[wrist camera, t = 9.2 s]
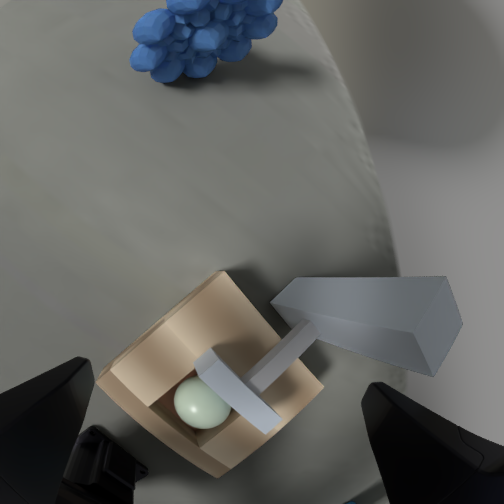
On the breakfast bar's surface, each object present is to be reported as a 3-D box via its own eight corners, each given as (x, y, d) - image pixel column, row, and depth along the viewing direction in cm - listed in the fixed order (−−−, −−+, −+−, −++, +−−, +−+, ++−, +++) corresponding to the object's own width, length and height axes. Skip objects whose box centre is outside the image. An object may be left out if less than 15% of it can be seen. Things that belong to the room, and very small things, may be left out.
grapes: (235, 40, 23) (278, -44, 11) (259, 84, 23) (320, -4, 12) (123, 59, 19) (124, -43, 8) (136, 110, 19) (136, -5, 8)
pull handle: (239, 399, 20) (334, 513, 7) (188, 349, 19) (240, 466, 6) (325, 316, 23) (468, 343, 10) (285, 262, 22) (433, 247, 9)
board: (209, 458, 19) (217, 478, 16) (103, 368, 17) (95, 382, 14) (305, 375, 22) (324, 387, 19) (215, 271, 20) (224, 270, 18)
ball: (253, 402, 17) (225, 394, 20) (213, 365, 16) (191, 361, 19) (217, 445, 14) (194, 430, 18) (172, 410, 14) (156, 398, 17)
